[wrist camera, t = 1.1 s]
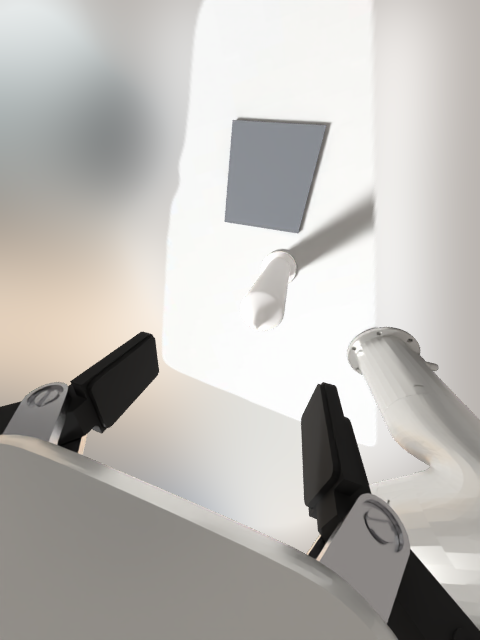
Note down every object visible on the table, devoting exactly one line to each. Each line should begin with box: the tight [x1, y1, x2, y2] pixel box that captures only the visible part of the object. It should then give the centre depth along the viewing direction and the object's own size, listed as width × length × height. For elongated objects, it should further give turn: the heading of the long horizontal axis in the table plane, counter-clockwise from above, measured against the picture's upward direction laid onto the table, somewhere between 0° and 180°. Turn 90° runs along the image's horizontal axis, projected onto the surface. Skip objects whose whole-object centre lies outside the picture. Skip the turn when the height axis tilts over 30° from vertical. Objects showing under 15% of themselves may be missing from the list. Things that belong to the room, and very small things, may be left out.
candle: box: [240, 251, 297, 331], centre depth 26 cm, size 7×7×25 cm
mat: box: [225, 120, 326, 233], centre depth 31 cm, size 14×14×1 cm
